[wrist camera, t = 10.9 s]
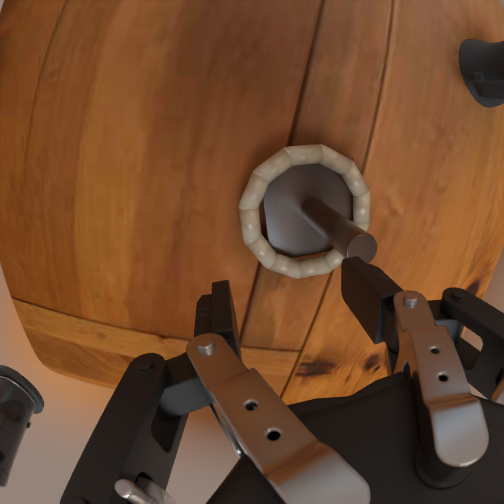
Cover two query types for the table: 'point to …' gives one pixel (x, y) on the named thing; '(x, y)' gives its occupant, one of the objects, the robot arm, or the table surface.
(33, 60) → the table surface
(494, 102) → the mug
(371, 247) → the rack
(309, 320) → the table surface
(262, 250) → the ring
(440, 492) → the robot arm
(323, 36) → the table surface
